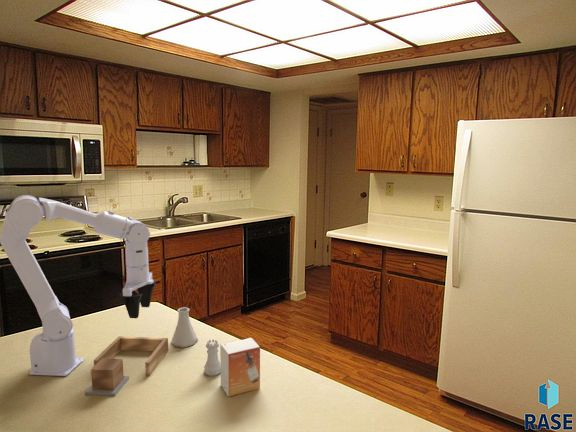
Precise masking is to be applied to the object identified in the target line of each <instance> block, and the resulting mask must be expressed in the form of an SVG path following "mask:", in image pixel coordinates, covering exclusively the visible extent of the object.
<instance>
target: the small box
mask: <svg viewBox="0 0 576 432" xmlns="http://www.w3.org/2000/svg"><path fill="white" fill-rule="evenodd" d="M219 347H220V351H219V352H220V355H219V356H220V363H221V372H220V386H221V387H222V389H223V390H224V393H225V394H226V396H227V397H228V398H229V397H233V396H236V395H239V394H243V393H247V392H250V391H254V390H258V389H260V388H261V347H260V346H259V344H258V343H257V342H256V341H255V340H254V339H253V338H252V337H248V338H245V339H239V340H236V341H231V342H226V343H220V344H219Z"/></svg>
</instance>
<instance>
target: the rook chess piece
mask: <svg viewBox="0 0 576 432" xmlns="http://www.w3.org/2000/svg"><path fill="white" fill-rule="evenodd" d="M219 347H220V344H219V343H218V340H216V339H212V340H211V339H209V340H208V341H207V342H206V345H205V348H206V349H207V351H206V353H207V359H206V362H205V364H204V366H203V368H204V370H203V371H204V373H205V375H207V376H209V377H215V376H218V375H220V374H221V360H219V355H218V354H219V353H218V352H219Z"/></svg>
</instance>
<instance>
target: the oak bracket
mask: <svg viewBox="0 0 576 432" xmlns="http://www.w3.org/2000/svg"><path fill="white" fill-rule="evenodd" d="M121 351H136V352H137V351H141V352H152V353H151V355H149V357H148V358H147V359H146V360H145V363H144V364H145V365H144V367H145V376H146V377H147V376H148V377H150V376H151V375H152V373H154V371H155V369H156V368H157V367H158V365H159V364H160V362H161V361H162V360H163V358H164V356H165V355H166V354H167V353H168V351H169V338H168V337H143V336H142V337H141V336H117V337H116V338H115V339H114V340H113V341H112V342H111V343H110V344H109V345H108V346H107V347H105V349H104V350H102V352H100V354H99V355H97V357H95V358H94V359H93V367H94V366H95V365H96V364H97V363H98V362H99V361H100V360H101V359H102V358H112V359H115V357H116V356H117V355H118V354H119V353H121Z"/></svg>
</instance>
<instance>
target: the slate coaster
mask: <svg viewBox="0 0 576 432" xmlns="http://www.w3.org/2000/svg"><path fill="white" fill-rule="evenodd" d="M129 380H130V376H129V375H124V379H123V380H122V381H121V382H120V383H119V385H118V386H117V387H116V388H115V390H92V384H91V385H90V386H89V387H88V388H87V389H86V390H85V392H84V394H85V395H90V396H110V397H111V396H112V397H113V396H114V397H115V396H117V394H118V393H119V392H120V391H121V390H122V388H123V387H124V386H125V384H126V383H127V382H128V381H129Z"/></svg>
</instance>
